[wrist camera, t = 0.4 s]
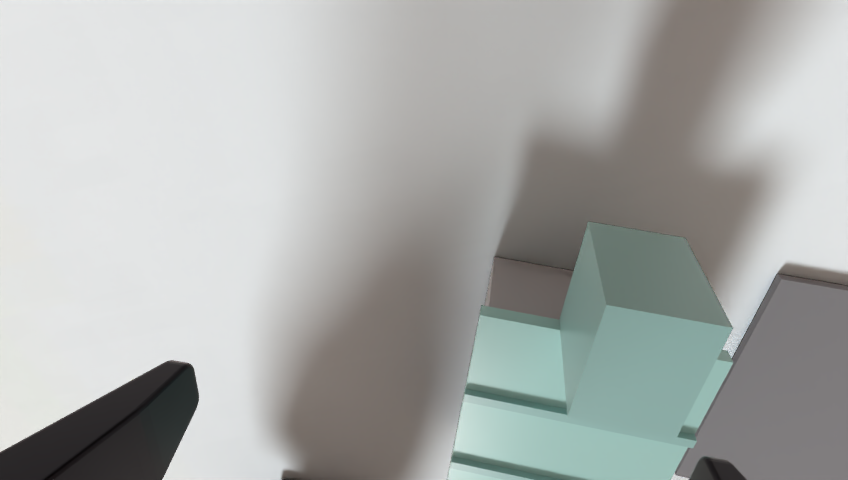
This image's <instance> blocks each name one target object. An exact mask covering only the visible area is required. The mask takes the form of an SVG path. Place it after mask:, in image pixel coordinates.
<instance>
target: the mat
mask: <svg viewBox="0 0 848 480" xmlns="http://www.w3.org/2000/svg"><path fill="white" fill-rule="evenodd" d="M732 361H733V364H732V366H731V368H730V370H729V372H728V374H727V375H726V377H725V379H724V381H723V383H722V385H721V387H720V389H719V390H718V392H717V394H716V396H715V398H714V400H713V402H712V403H711V405H710V407H709V409H708V411H707V413H706V415H705V416H704V418H703V420H702V422H701V424H700V426H699V428H698V430H697V431H696V433H695V437H696V440H697V442H696V444H695V446H694V448H689V447H688V448H687V450H686V452H685V454H684V456H683V457H682V459H681V461H680V463H679V465H678V467H677V469H676V470H675V474H676V475H678V476H683V477H687V478H690V476H691V474H692V472H693V470H694V468H695V466H696V464H697V462H698V461H699V459H700V458H701V457H703V456H708V457H714V458H719V459H724V460H727V461H729V462H731V463H732V464H733V465H734V466H735V467H736V468H737V469H738V470H739V471H740V472H741V474H742V475H743V476H744V477H745V478H746V479H747V480H848V286H846V285H840V284H834V283H828V282H822V281H817V280H811V279H805V278H799V277H793V276H787V275H782V274H777V275H776V277H775V279H774V281H773V283H772V285H771V287H770V289H769V290H768V292H767V294H766V296H765V298H764V300H763V302H762V304H761V305H760V307H759V309H758V311H757V313H756V315H755V317H754V319H753V320H752V322H751V324H750V326H749V328H748V330H747V332H746V334H745V335H744V337H743V339H742V341H741V343H740V345H739V347H738V349H737V351H736V352H735V354H734V356H733V358H732Z"/></svg>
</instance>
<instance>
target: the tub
mask: <svg viewBox="0 0 848 480" xmlns="http://www.w3.org/2000/svg"><path fill="white" fill-rule="evenodd" d="M572 275H573V271H571V270H566V269H560V268H554V267H549V266H543V265H538V264H532V263H526V262H521V261H515V260H509V259H504V258H498V257H494V260H493V265H492V270H491V275H490V280H489V285H488V290H487V295H486V300H485V305H484V306H489V307H494V308H499V309H505V310H510V311H516V312H521V313H526V314H532V315H537V316H542V317H548V318H553V319H560V315H561V312H562V309H563V305H564V302H565V298H566V295H567V292H568V288H569V285H570V282H571V278H572Z"/></svg>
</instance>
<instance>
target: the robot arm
mask: <svg viewBox="0 0 848 480" xmlns="http://www.w3.org/2000/svg"><path fill="white" fill-rule="evenodd" d="M198 401H199V393H198V388H197V382H196V377H195V372H194V368H193V366H192V365H191V364H189V363H185V362H180V361H174V360H171V361H167V362H165V363H163V364H161V365H159V366H157V367H155V368H154V369H152V370H150V371H148V372H146V373H144V374H143V375H141V376H139V377H137V378H135V379H133V380H132V381H130V382H128V383H126V384H124V385H122V386H121V387H119V388H117V389H115V390H113V391H111V392H110V393H108V394H106V395H104V396H102V397H100V398H99V399H97V400H95V401H93V402H91V403H89V404H88V405H86V406H84V407H82V408H80V409H78V410H77V411H75V412H73V413H71V414H69V415H67V416H66V417H64V418H62V419H60V420H58V421H56V422H55V423H53V424H51V425H49V426H47V427H45V428H44V429H42V430H40V431H38V432H36V433H34V434H33V435H31V436H29V437H27V438H25V439H23V440H22V441H20V442H18V443H16V444H14V445H12V446H11V447H9V448H7V449H5V450H3V451H1V452H0V480H162V479H163V477H164V475H165V473H166V471H167V469H168V467H169V464H170V462H171V460H172V458H173V456H174V454H175V452H176V450H177V448H178V446H179V444H180V442H181V439H182V437H183V435H184V433H185V431H186V429H187V427H188V425H189V423H190V421H191V419H192V417H193V414H194V412H195V410H196V408H197V405H198ZM689 480H747V479H746V478H745V477H744V476H743V475H742V474H741V472H740V471H739V470H738V469H737V468H736V467H735V466H734V465H733V464H732V463H731V462H729V461H727V460H724V459H719V458H714V457H708V456H703V457H701V458H700V459H699V461H698V462H697V464H696V466H695V468H694V470H693V472H692V474H691V476H690V478H689Z"/></svg>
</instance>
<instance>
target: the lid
mask: <svg viewBox="0 0 848 480" xmlns="http://www.w3.org/2000/svg"><path fill="white" fill-rule="evenodd" d="M732 329H733V327H732V325H731V323H730V321H729V319H728V318H727V316H726V314H725V312H724V310H723V308H722V306H721V304H720V303H719V301H718V299H717V297H716V295H715V293H714V291H713V289H712V287H711V286H710V284H709V282H708V280H707V278H706V276H705V274H704V272H703V270H702V269H701V267H700V265H699V263H698V261H697V259H696V257H695V255H694V254H693V252H692V250H691V248H690V246H689V244H688V242H687V240H686V238H684V237H678V236H672V235H666V234H660V233H654V232H648V231H642V230H636V229H630V228H625V227H619V226H613V225H607V224H601V223H595V222H589V221H588V224H587V228H586V231H585V234H584V238H583V241H582V244H581V248H580V251H579V255H578V258H577V261H576V265H575V268H574V271H573V275H572V278H571V282H570V285H569V288H568V292H567V295H566V298H565V302H564V305H563V309H562V312H561V315H560V319H553V318H548V317H542V316H537V315H532V314H526V313H521V312H516V311H510V310H505V309H499V308H494V307H489V306H483V305H481V310H480V315H479V320H478V325H477V330H476V335H475V340H474V345H473V350H472V355H471V360H470V365H469V370H468V375H467V380H466V385H465V391H464V396H463V401H462V406H461V411H460V416H459V421H458V426H457V431H456V436H455V441H454V446H453V451H452V456H451V461H450V466H449V471H448V477H447V480H671V478H672V476H673V474H674V472H675V470H676V469H677V467H678V465H679V463H680V461H681V459H682V457H683V456H684V454H685V452H686V450H687V448H688V447H689V448H694V446H695V444H696V442H697V440H696V437H695V433H696V431H697V430H698V428H699V426H700V424H701V422H702V420H703V418H704V416H705V415H706V413H707V411H708V409H709V407H710V405H711V403H712V402H713V400H714V398H715V396H716V394H717V392H718V390H719V389H720V387H721V385H722V383H723V381H724V379H725V377H726V375H727V374H728V372H729V370H730V368H731V366H732V364H733V361H732V359H731V357H730V355H729V353H728V351H725V350H722V348H723V346H724V344H725V343H726V341H727V339H728V337H729V335H730V333H731V331H732Z"/></svg>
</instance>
